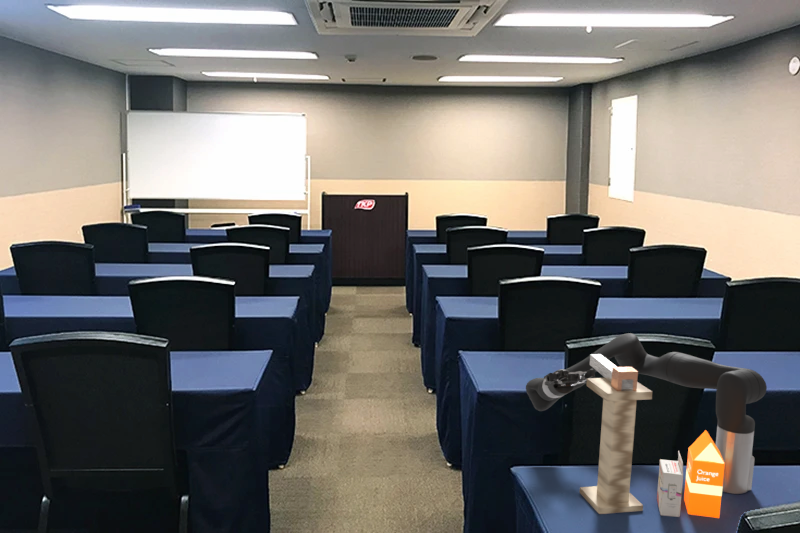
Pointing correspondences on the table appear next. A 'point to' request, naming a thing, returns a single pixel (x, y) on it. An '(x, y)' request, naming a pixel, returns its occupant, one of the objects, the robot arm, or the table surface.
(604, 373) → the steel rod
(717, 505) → the orange juice
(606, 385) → the birch stand
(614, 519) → the table surface
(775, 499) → the table surface
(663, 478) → the ink cartridge box
